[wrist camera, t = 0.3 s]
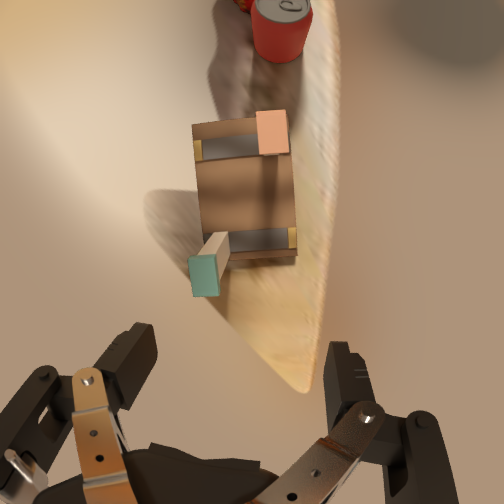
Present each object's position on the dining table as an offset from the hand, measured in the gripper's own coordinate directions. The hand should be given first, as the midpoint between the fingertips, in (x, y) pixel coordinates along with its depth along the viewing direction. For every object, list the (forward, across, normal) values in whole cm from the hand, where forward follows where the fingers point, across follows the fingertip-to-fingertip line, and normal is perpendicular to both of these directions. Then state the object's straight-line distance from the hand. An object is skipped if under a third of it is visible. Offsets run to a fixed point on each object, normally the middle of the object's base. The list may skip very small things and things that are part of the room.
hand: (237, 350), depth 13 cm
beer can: (+30, 0, -23) cm, 38 cm away
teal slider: (+25, +6, +4) cm, 26 cm away
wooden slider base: (+28, +3, -3) cm, 29 cm away
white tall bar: (+27, 0, -9) cm, 28 cm away
